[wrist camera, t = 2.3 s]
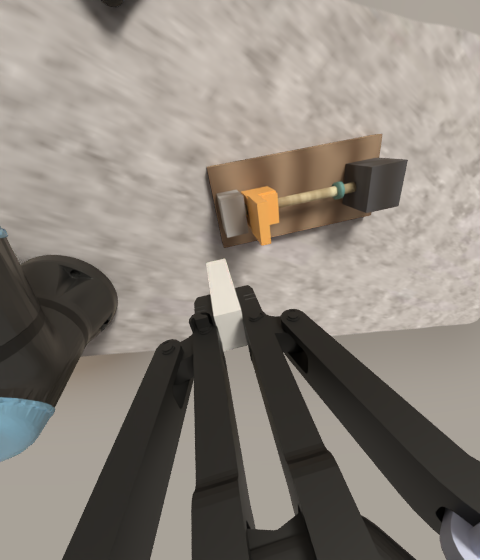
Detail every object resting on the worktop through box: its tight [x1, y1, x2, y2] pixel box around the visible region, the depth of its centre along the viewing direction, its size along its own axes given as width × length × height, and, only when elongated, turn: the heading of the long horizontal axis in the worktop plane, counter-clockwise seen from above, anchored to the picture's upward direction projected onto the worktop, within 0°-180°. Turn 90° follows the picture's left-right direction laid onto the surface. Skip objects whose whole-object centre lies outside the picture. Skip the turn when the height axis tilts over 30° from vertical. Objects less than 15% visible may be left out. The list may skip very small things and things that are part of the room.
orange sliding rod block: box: [241, 186, 279, 245], centre depth 31 cm, size 4×5×10 cm
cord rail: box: [207, 134, 408, 248], centre depth 34 cm, size 26×12×8 cm, turn 99°
